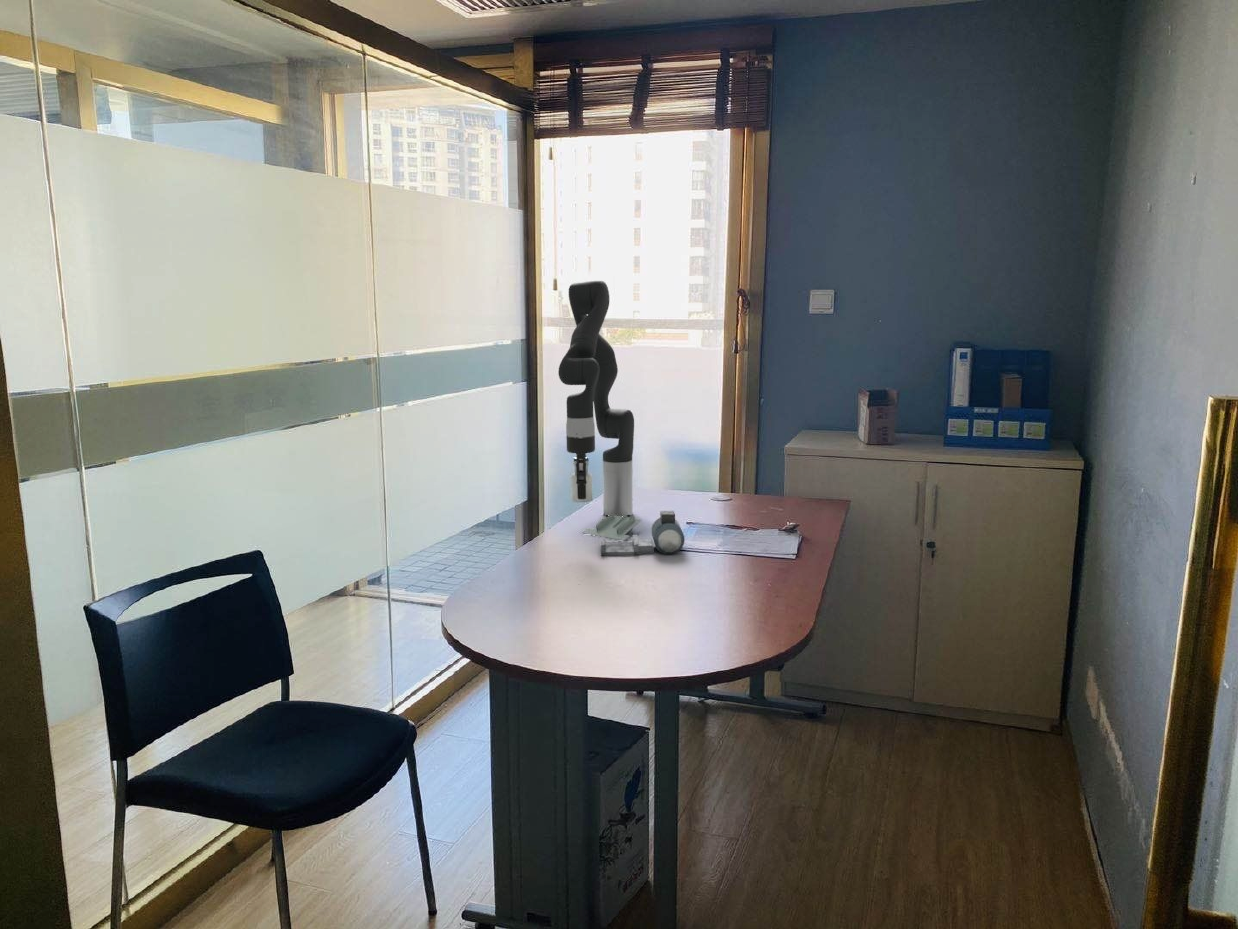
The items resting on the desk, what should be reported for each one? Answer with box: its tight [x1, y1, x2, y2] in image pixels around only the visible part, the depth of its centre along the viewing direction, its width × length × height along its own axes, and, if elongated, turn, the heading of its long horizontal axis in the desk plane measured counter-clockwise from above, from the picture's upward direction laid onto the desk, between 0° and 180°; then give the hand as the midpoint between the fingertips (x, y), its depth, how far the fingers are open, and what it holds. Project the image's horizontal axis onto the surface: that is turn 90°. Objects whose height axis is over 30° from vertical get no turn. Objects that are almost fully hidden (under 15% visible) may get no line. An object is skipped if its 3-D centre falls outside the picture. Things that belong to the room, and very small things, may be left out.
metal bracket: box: [581, 512, 642, 542], centre depth 257 cm, size 14×6×15 cm
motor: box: [600, 510, 686, 557], centre depth 238 cm, size 11×22×10 cm, turn 92°
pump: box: [570, 472, 593, 503], centre depth 237 cm, size 6×6×9 cm
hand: (581, 496), depth 238 cm, fingers closed on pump, 5 cm apart
